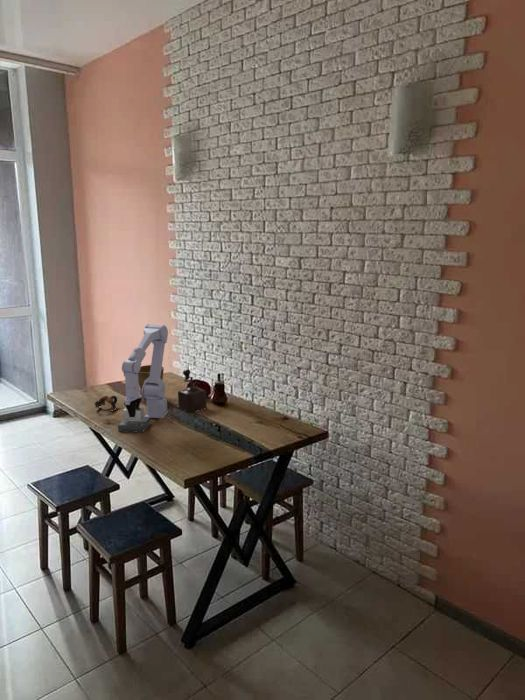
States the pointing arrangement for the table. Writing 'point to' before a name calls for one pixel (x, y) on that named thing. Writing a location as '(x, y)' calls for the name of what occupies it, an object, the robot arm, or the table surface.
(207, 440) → the table surface
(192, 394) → the manual coffee grinder
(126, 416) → the block
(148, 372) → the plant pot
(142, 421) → the stand
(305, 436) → the table surface
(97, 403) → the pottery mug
